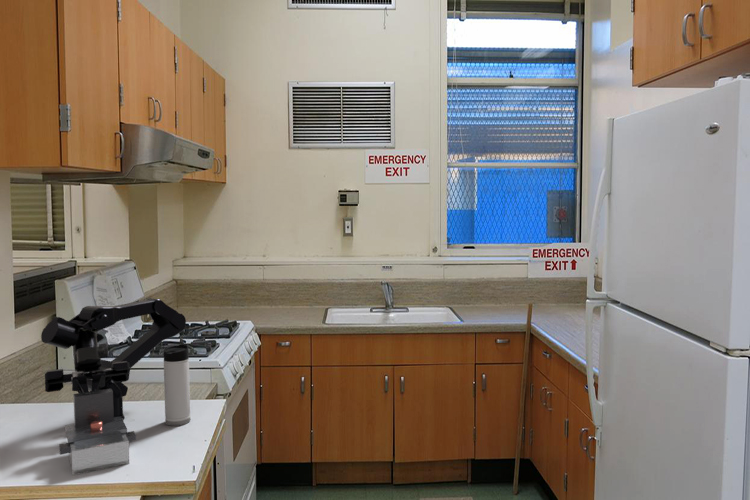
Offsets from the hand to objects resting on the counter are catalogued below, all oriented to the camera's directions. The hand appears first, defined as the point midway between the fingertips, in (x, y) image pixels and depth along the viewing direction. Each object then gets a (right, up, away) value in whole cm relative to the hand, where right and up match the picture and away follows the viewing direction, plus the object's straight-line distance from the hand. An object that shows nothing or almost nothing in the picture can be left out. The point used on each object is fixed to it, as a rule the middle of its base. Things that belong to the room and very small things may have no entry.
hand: (91, 406), depth 139 cm
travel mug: (+16, -8, +14) cm, 23 cm away
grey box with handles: (+7, -9, -11) cm, 16 cm away
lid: (+5, -4, -7) cm, 9 cm away
